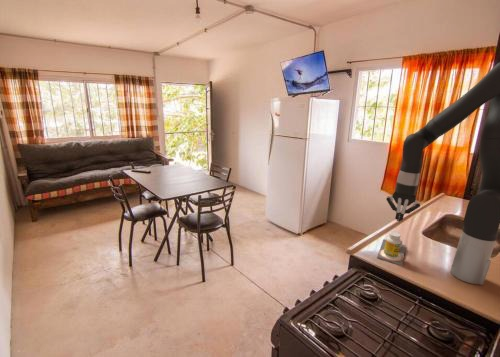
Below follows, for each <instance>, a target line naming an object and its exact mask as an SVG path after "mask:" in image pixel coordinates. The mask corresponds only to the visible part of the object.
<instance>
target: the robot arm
mask: <svg viewBox="0 0 500 357" xmlns="http://www.w3.org/2000/svg"><path fill="white" fill-rule="evenodd" d="M489 101H490V104H489V105H490V106H489V110H488V114H487V116H486V117H485V121H484V124H483V128H482V131H481V135H480V136H481V137H480V143H479V150H478V151H479V154H478V155H479V161H480V168H481V181H480V185H479V189H478V192H477V194H475V195H472V197H471V198H470V199H469V200H468V203H467V206H466V209H465V214H464V217H463V223H462V225H463V227H462V232H461V235H460V237H459V240H458V243H457V247H456V251H455V253H454V257H453V261H452V263H451V268H450V274H452V276H454V277H455V278H457V279H458V280H460V281H462V282H465V283H468V284H473V285H481V286H484V283H485V280H486V278H487V275H488V271H489V269H490V266H491V263H492V261H491V257H492V254H493V251H494V248H495V245H496V242H497V239H498V236H499V228H500V61H499V62H498V63H496V64H495V65H494V66H493V67H492V68H491V69H490V70H489V71H488V72H487V73H486V74H485V75H484V77H482V78H481V79H480V80H479V81H478V82H477V83H476V84H475V85H474V86H473V87H472V88H471V89H469V90H468V91H467V92H465V94H463V95H462V96H460V97H459V98H458V99H456V100H455V101H454V102H452V103H451V104H450V105H448V106H447V107H446V108H444V109H443V110H441V111H440V112H439V113H437V114H436V115H435V116H434V117H432V118H431V119H430V120H429V121H428V122H426V125H424V126H423V127H422V128H420V129H419V130H417V131H416V132H414V133H410V134H409V135H407V136H406V137H405V139H404V141H403V144H402V160H401V164H400V168H399V172H398V173H397V174H398V176H397V178H396V184H395V187H394V188H395V189H394V192H393V193H392V195H390V196H387V197H386V201H387V203H388V205H389V206H390V208H391V210H392V211H394V212H396V213H395V218H394V219H395V220H396V222H401V221H402V222H403V220H404V217H405V214H411V213H412V212H414V211H415V210H417V209H418V208H419V209H420V207H421V203H420V202H418V201H417V198H416V196H417V195H416V194H417V191H418V190H417V189H418V186H419V183H420V182H419V181H420V176H421V175H420V174H421V171H422V165H423V159H422V156H423V152H424V151H423V150H425V149H427V147H428V146H430V145H431V144H432V143H434V142H435V141H436V140H437V139H438V138H440V137H442V136H443V135H446V134H447V133H448V132H449V131H451V130H452V129H454V128H455V127H456V126H458V125H459V124H460V123H462V122H463V121H464V120H466V119H467V118H468V117H470V115H471V114H473V113H474V112H475V111H477V110H478V109H479V108H480V107H482V106H483V105H485V104H486V103H488V102H489ZM393 201H394V202H395V203H394V202H393ZM395 204H396V205H397V206H396V205H395ZM411 205H412V206H411ZM409 206H411V207H409ZM401 207H402V208H401ZM407 207H409V208H408V209H407Z"/></svg>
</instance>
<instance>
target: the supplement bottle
mask: <svg viewBox="0 0 500 357" xmlns="http://www.w3.org/2000/svg"><path fill="white" fill-rule="evenodd" d="M385 240H386V243H385V248H384V254H385V255H386V256H388V257H390V258H397V257H398V254H399V250H400V245H401V241H402V240H401V234H400V233H399V232H396V231H389V234H388V236H387V237H386V239H385Z"/></svg>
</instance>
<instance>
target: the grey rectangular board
mask: <svg viewBox="0 0 500 357" xmlns="http://www.w3.org/2000/svg"><path fill="white" fill-rule="evenodd" d="M385 243H386V239H385V238H384V239H383V240H382V242H381V245H380V247H379V248H380V249H379V251H378V254H377V256H376V258H377V259H378V260H383V261H385V262H388V263H392V264H395V265H397V266H401V267H403V263H404V262H403V261H404V256H405V252H406V244H403V240H401V245H400V250H399V254H398V257H397V258H390V257H388V256H386V255H385V254H384V248H385Z"/></svg>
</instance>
